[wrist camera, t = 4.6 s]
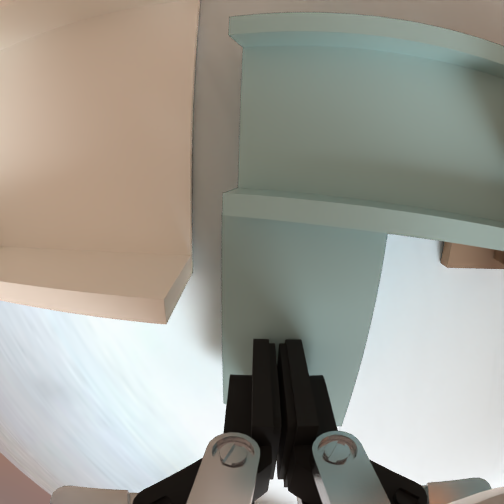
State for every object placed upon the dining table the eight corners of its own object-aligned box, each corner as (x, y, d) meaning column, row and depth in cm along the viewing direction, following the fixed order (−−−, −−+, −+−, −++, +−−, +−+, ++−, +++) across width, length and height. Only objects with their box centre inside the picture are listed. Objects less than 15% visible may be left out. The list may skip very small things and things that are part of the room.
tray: (201, -13, 9) (179, -68, 5) (193, 272, 12) (166, 324, 9) (-14, 48, 9) (-65, 39, 5) (-12, 257, 13) (-61, 286, 9)
